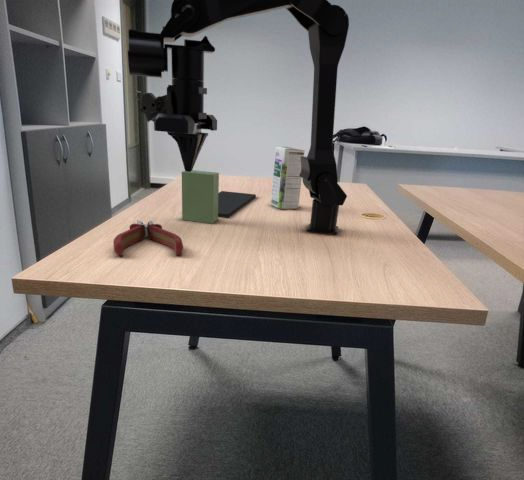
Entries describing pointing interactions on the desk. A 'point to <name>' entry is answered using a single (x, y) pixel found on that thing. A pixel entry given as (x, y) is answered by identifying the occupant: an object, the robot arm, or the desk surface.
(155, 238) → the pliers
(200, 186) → the sage block
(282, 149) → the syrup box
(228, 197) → the charcoal mat
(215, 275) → the desk surface
